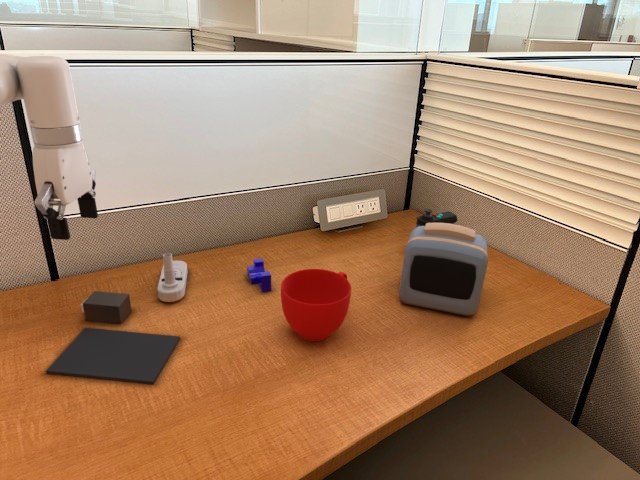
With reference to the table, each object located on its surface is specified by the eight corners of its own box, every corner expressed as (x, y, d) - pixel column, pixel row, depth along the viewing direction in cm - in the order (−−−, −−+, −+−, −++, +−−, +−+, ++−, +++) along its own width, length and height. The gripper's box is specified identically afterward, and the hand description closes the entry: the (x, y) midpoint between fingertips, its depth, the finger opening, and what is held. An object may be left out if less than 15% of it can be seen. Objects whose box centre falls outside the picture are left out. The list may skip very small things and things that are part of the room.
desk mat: (46, 373, 78) (45, 370, 78) (85, 330, 89) (85, 327, 89) (153, 384, 77) (153, 381, 77) (180, 339, 88) (179, 336, 87)
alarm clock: (396, 305, 101) (405, 237, 94) (407, 270, 115) (415, 209, 108) (476, 321, 97) (492, 251, 90) (477, 283, 111) (490, 220, 104)
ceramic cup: (370, 317, 96) (374, 274, 92) (323, 361, 84) (326, 313, 79) (317, 296, 103) (319, 255, 99) (266, 334, 90) (265, 288, 86)
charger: (79, 320, 92) (76, 302, 90) (92, 307, 96) (88, 290, 94) (121, 324, 91) (118, 306, 89) (131, 311, 95) (129, 293, 93)
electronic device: (185, 231, 108) (180, 260, 94) (188, 269, 112) (184, 302, 98) (160, 232, 107) (151, 261, 93) (164, 271, 111) (157, 304, 97)
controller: (410, 243, 129) (415, 208, 125) (445, 235, 135) (450, 202, 130) (420, 249, 126) (425, 214, 122) (455, 242, 131) (462, 208, 127)
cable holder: (247, 275, 110) (246, 260, 108) (262, 273, 111) (262, 258, 109) (255, 293, 103) (255, 277, 101) (271, 291, 104) (271, 275, 102)
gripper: (64, 123, 89) (81, 209, 96) (1, 146, 73) (26, 246, 80) (103, 125, 88) (117, 211, 96) (48, 149, 73) (70, 249, 80)
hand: (76, 227), depth 88 cm, fingers open, 9 cm apart
